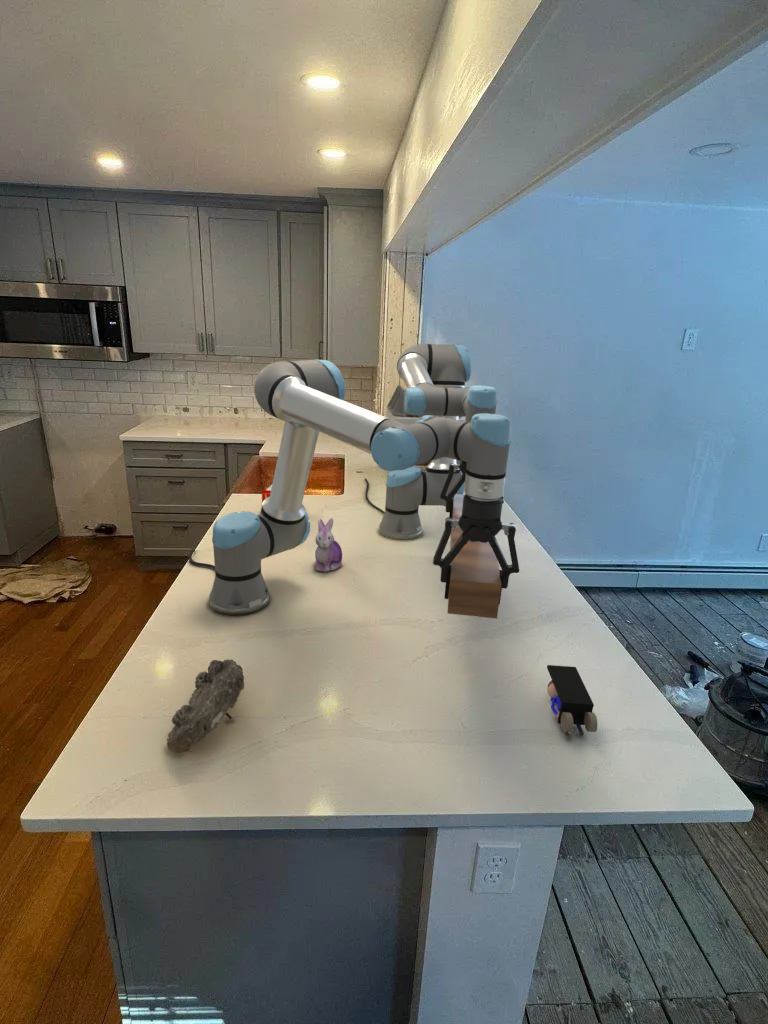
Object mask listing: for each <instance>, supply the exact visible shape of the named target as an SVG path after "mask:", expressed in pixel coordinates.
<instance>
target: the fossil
mask: <svg viewBox="0 0 768 1024" xmlns="http://www.w3.org/2000/svg"><path fill="white" fill-rule="evenodd" d="M243 670H244V669H243V667H242V665H240V664H237V662H236V661H235V660H234V659H232V658H231V659H227V658H226V659H224V660H223V661H222V660H217V659H212V660H211V661H210V663H209V665H208V666H207V671H201V672H199V673H198V674H197V675H196V676H195V680H194V684H195V685H194V687H195V689H194V690H193V693H192V694H191V697H190V698H189V700H188V704H184V705H182V706H181V707H180V709H177V710H176V711H175V713H174V715H173V716H172V718H171V723H172V724H173V727H172V730H171V731H170V732H168V734H167V738H166V741H167V742H166V745H167V749H168V750H169V751H173V752H174V753H176V754H178V753H182V752H188V751H189V752H192V751H193V750H195V748H196V747H197V746H199V744H200V743H201V742H203V741H204V740H205V739H206V738H207V737H208V736H209V735H210V734H211V733H212V732H214V730H215V729H217V727H218V726H219V724H220V722H221V721H222V720H223V719H224V718H225V716H226V717H227V719H229V720H233V717H232V715H230V714H229V710H230V709H231V708H234V706H235V704H236V703H237V702H238V699H239V697H240V695H241V693H242V691H243V690H245V689H244V688H245V675H244V671H243Z"/></svg>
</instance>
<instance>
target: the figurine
mask: <svg viewBox="0 0 768 1024" xmlns="http://www.w3.org/2000/svg"><path fill="white" fill-rule="evenodd" d="M333 526H334V519H333V517H331V518H329V519H328V521H327V522H326V524H325V523H324V521H323V519H321V518H320V519H318V521H317V528H318V529H317V530H318V532H317V534H316V536H315V540H314V541H315V544H316V545H317V547H316V548H315V552H314V556H315V563H314V565H315V570H316V571H320V572H329V571H335V570H337V569H338V568H340V567H341V566H342V562H343V549H342V546H341V545H340V543H339V542H338V541H336V540H335V536H334V535H333V533H332V529H333Z"/></svg>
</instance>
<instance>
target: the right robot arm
mask: <svg viewBox="0 0 768 1024" xmlns="http://www.w3.org/2000/svg"><path fill="white" fill-rule="evenodd" d="M396 371H397V374H398V376H399V378H400V379H401V380H402V381H404V384H405V387H406V389H405V390H406V392H405V401H404V405H405V412H406V413H407V414H409V415H417V416H425V415H431V416H437V415H438V416H442V417H445V418H449V419H454V420H458V418H459V416H462V418H463V417H465V418H464V420H465V421H464V422H471V418H472V417H473V416H474V415H475V414H481V413H488V414H496V411H497V406H498V390H497V388H495V387H494V386H489V385H471V386H466V383H468V382H469V381H470V380H471V376H472V375H471V374H472V359H471V355H470V351H469V349H468V348H467V347H466V346H464V345H458V344H443V343H442V344H441V343H439V344H438V343H435V344H434V343H419V344H415V345H412V346H410V347H408V348H406V349H405V350H404V351H403V352H402V353H401V354H400V356H399V357H398V358H397V362H396ZM466 466H467V462H466V461H461V463H460V464H457V463H456V459H451V458H446V457H443V458H439V459H436V460H432V461H431V463H430V464H429V465H427V466H426V471H422V469H421V468H420V466H412V467H409V468H407V469H404V470H395V471H388V473H387V475H386V482H385V487H386V488H385V489H386V490H385V504H384V505H385V507H384V508H385V509H384V510H383V509H381V508H380V507H378V506H377V505H375V504H374V503H372V502H371V501H370V500H369V497H368V492H369V487H370V483H369V481H368V480H367V478H365V477H364V480H365V482H366V489H365V497H364V498H365V499H366V502H367V503H368V504H369V505H370V506H371V507H373V508H374V509H376V510H378V511H379V512H380V513H382V514H383V515H382V519H381V522H379V525H378V533H379V534H380V535H381V536H382V537H385V538H387V539H389V540H395V541H410V540H415V539H418V538H420V537H421V536H422V535H423V525H422V524H421V518H420V515H419V507H420V506H442V507H445V513H449V515H448V517H450V518H451V519H452V511H453V497H454V496H455V494H461V495H464V493H465V492H464V487H465V477H466ZM460 471H461V472H460ZM501 498H502V500H503V503H502V505H503V504H504V502H505V501H504V495H503V496H502V497H501Z"/></svg>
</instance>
